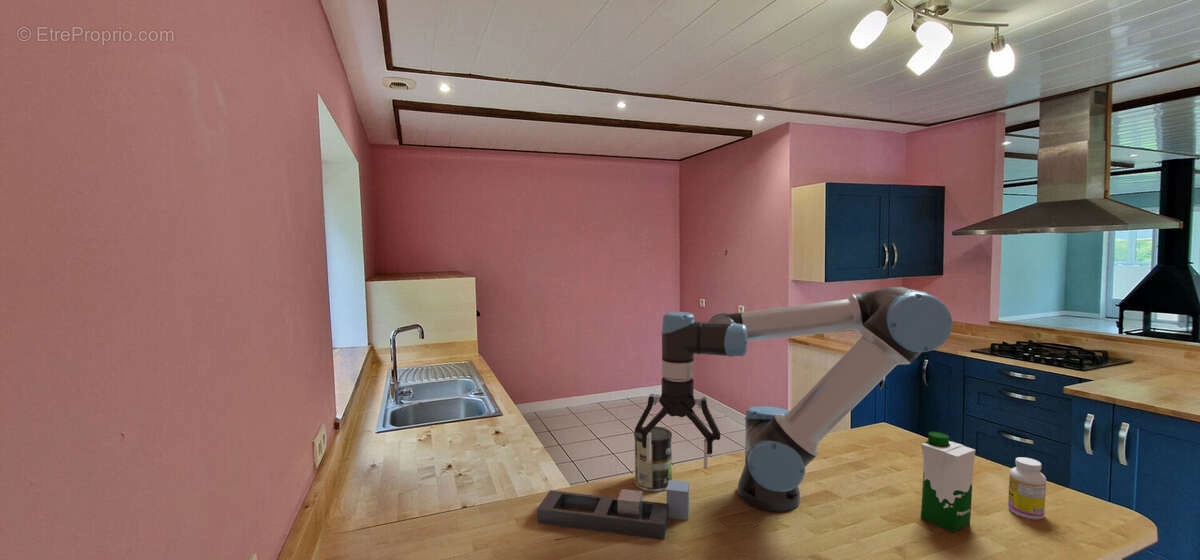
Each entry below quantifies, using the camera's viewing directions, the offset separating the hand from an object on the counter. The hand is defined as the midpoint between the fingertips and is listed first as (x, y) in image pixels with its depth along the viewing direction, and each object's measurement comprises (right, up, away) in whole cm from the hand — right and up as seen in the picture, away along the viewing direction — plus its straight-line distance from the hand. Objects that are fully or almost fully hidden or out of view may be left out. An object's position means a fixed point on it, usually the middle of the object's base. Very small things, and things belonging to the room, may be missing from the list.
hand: (676, 463), depth 119 cm
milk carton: (+62, -12, -4) cm, 63 cm away
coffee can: (-4, -12, +16) cm, 20 cm away
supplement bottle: (+83, -12, -1) cm, 84 cm away
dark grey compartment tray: (-18, -13, -2) cm, 22 cm away
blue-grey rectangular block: (0, -13, +1) cm, 13 cm away
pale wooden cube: (-11, -13, -3) cm, 18 cm away
